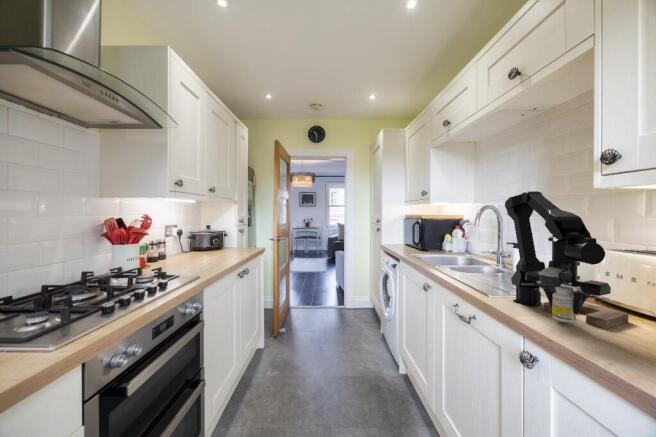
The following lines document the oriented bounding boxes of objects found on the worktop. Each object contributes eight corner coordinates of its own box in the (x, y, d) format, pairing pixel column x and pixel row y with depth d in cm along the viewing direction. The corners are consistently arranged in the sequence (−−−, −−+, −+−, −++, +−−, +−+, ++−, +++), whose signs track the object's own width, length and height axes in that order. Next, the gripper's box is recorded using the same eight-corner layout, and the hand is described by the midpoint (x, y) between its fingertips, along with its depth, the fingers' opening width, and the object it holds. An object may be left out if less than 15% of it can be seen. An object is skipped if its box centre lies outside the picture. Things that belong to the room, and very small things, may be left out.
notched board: (543, 310, 92) (543, 303, 92) (565, 305, 97) (565, 298, 97) (605, 329, 78) (606, 320, 78) (628, 322, 82) (628, 313, 82)
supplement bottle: (564, 323, 79) (564, 289, 79) (547, 316, 84) (547, 284, 84) (581, 322, 79) (581, 289, 79) (563, 315, 85) (563, 284, 85)
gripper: (514, 255, 87) (513, 304, 87) (588, 266, 70) (587, 327, 70) (537, 253, 91) (536, 300, 92) (612, 262, 74) (611, 320, 74)
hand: (563, 310), depth 82 cm, fingers closed on supplement bottle, 5 cm apart
